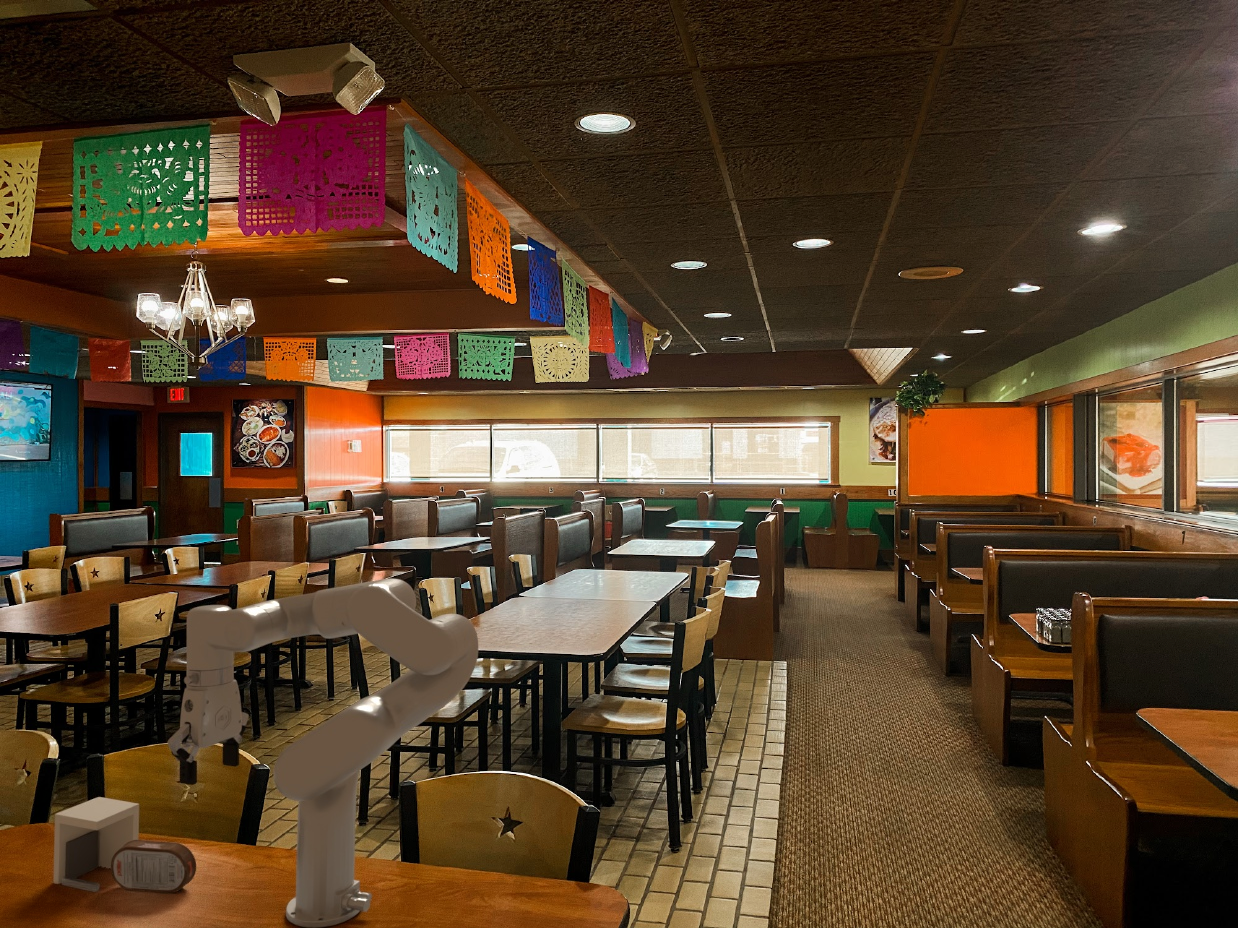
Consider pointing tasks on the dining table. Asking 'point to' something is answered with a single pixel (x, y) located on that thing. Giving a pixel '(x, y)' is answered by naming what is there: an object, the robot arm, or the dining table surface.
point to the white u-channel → (91, 838)
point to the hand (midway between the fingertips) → (210, 774)
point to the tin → (153, 866)
